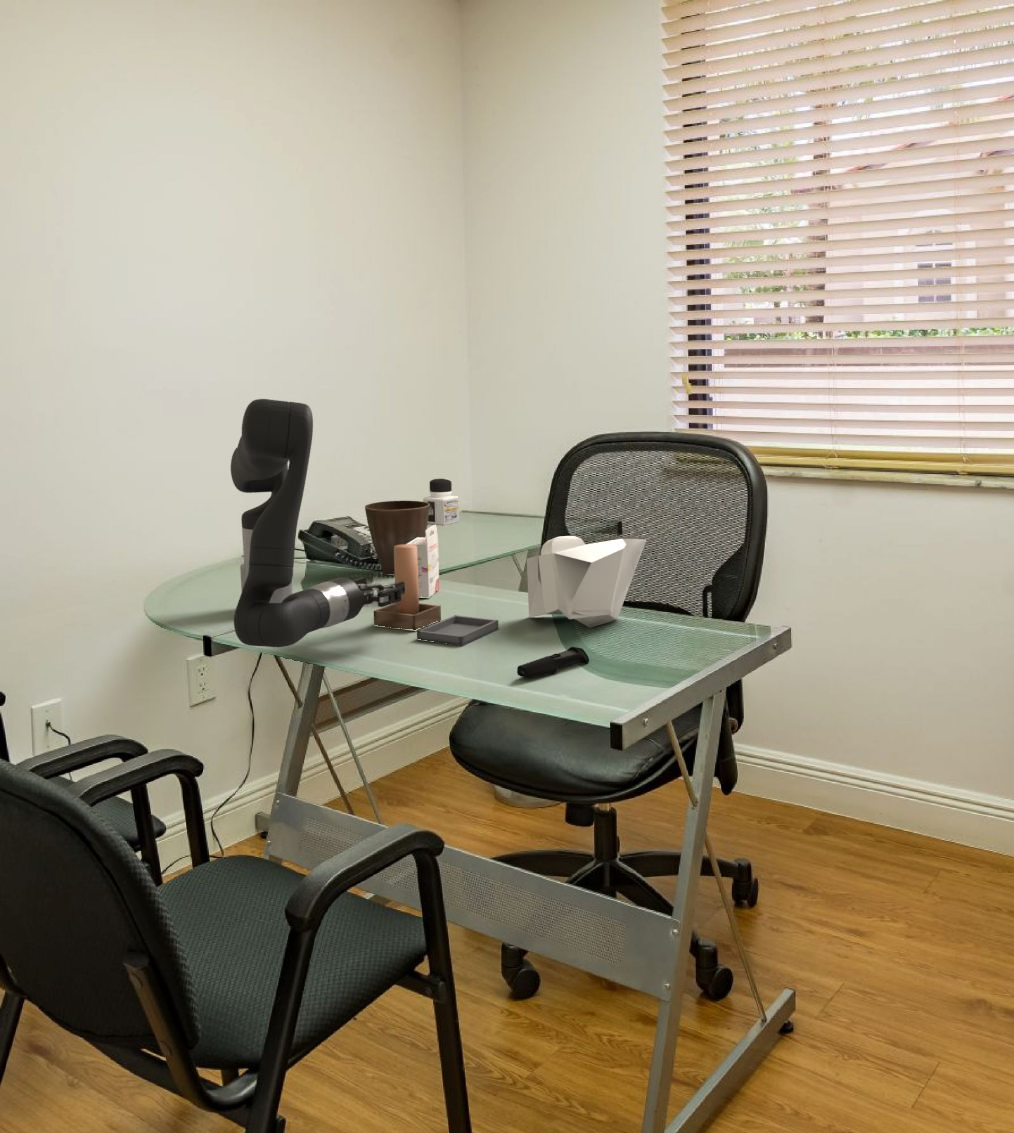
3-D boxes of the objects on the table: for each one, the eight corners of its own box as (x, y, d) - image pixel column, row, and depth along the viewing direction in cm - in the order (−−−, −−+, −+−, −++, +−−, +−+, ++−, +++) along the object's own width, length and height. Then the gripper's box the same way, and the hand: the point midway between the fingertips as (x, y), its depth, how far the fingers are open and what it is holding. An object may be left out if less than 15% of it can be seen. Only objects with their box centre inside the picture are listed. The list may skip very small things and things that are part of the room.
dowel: (391, 625, 217) (389, 547, 214) (404, 620, 221) (402, 543, 218) (411, 627, 215) (408, 549, 212) (423, 622, 219) (421, 545, 216)
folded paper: (516, 531, 217) (558, 553, 202) (625, 522, 227) (672, 542, 212) (514, 617, 222) (554, 644, 207) (620, 604, 232) (667, 629, 217)
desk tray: (417, 640, 206) (416, 631, 205) (455, 623, 217) (454, 615, 217) (462, 646, 201) (461, 636, 201) (498, 629, 213) (498, 620, 213)
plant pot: (398, 582, 256) (396, 511, 253) (353, 574, 266) (351, 505, 262) (444, 571, 267) (443, 503, 264) (400, 564, 277) (398, 498, 274)
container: (444, 525, 334) (443, 481, 332) (423, 523, 339) (422, 479, 336) (459, 521, 341) (458, 478, 338) (438, 519, 345) (437, 477, 342)
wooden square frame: (374, 626, 216) (373, 611, 216) (400, 616, 224) (400, 601, 224) (415, 631, 212) (414, 615, 211) (441, 620, 220) (440, 605, 219)
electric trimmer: (510, 681, 182) (510, 662, 181) (574, 660, 193) (573, 642, 192) (528, 686, 179) (527, 667, 179) (591, 664, 190) (591, 646, 190)
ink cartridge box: (417, 590, 248) (415, 523, 245) (439, 590, 247) (438, 523, 244) (406, 598, 239) (404, 529, 237) (429, 599, 238) (427, 529, 236)
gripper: (363, 585, 192) (415, 568, 206) (296, 578, 198) (351, 561, 212) (364, 629, 193) (417, 608, 207) (298, 620, 200) (352, 601, 214)
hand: (383, 585), depth 210 cm, fingers open, 8 cm apart
